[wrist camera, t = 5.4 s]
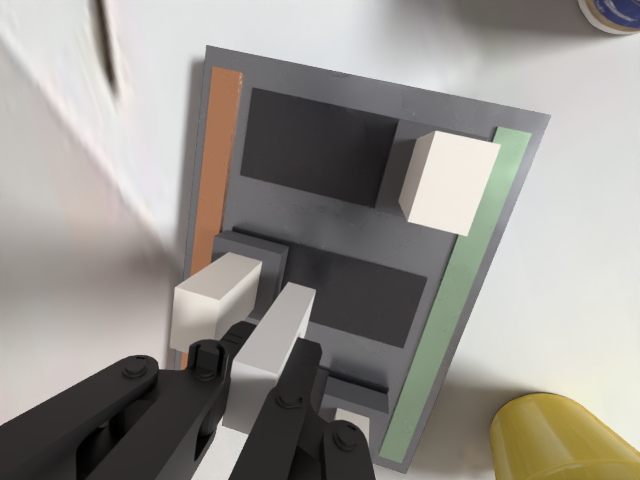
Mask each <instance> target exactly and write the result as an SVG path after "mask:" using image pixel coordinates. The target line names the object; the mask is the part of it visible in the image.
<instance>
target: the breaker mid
mask: <svg viewBox="0 0 640 480" xmlns="http://www.w3.org/2000/svg"><path fill="white" fill-rule="evenodd" d="M288 250H289V246H286V245H282V244H278V243H275V242H271V241H267V240H263V239H260V238H256V237H252V236H248V235H245V234H241V233H237V232H234V231H230V230H225V231H223V232H221V233H219V234H217V235H215V236H214V240H213V248H212V256H211V264H210V265H208V266H207V267H205V268H204V269H202V270H201V271H199V272H197V273H196V274H194V275H193V276H191V277H190V278H188V279H187V280H185V281H184V282H182V283H180V284H179V285H177V286H176V287H175V291H174V302H173V313H172V324H171V335H170V346H169V348H172V349H175V350H178V351H182V352H185V353H188V352H189V346H190V345H191V344H193V343H194V342H196V341H199V340H204V339H213V340H218V341H219V340H220V339H221V338H222V337H223V336H224V334H226V332H227V331H228V330H229V329H230V327H231V326H232V325H234V324H236V323H238V322H240V321H244V320H245V319H246V317H249V318H252V319H256V320H259V321H261V320H262V319H263V317H264V316H265V314H266V313H267V311H268V310H269V309H270V307H271V306H272V304H273V303H274V302H275V300H276V299H277V297H278V296H279V294H280V290H281V285H282V280H283V275H284V270H285V265H286V260H287V255H288Z"/></svg>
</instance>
